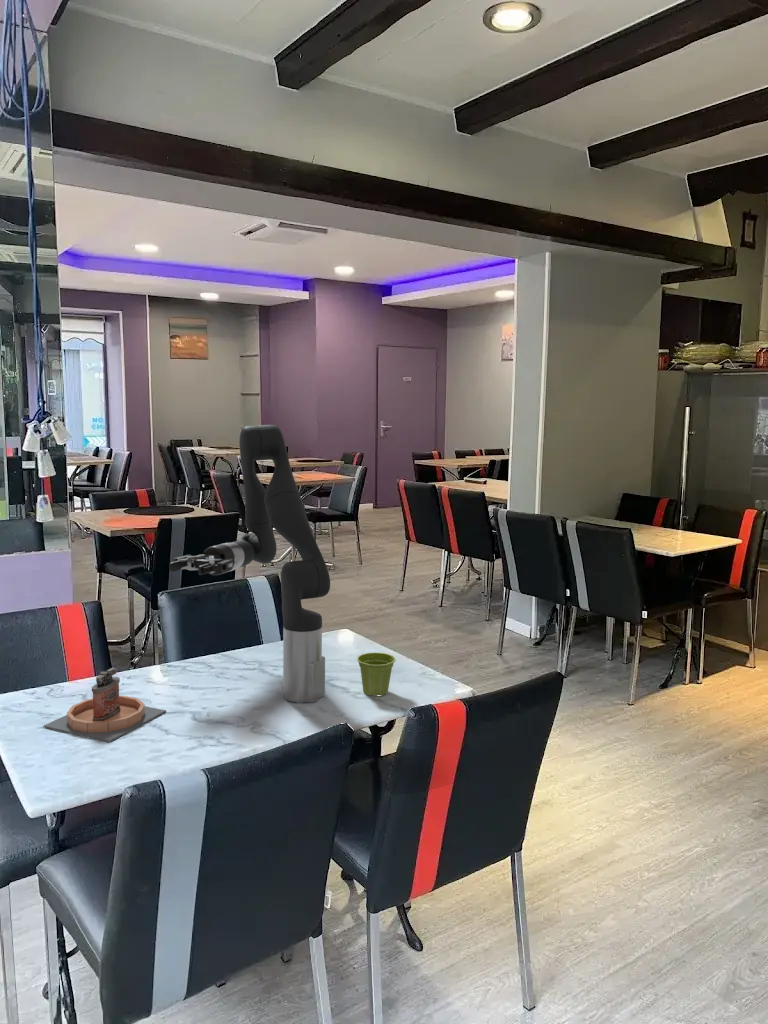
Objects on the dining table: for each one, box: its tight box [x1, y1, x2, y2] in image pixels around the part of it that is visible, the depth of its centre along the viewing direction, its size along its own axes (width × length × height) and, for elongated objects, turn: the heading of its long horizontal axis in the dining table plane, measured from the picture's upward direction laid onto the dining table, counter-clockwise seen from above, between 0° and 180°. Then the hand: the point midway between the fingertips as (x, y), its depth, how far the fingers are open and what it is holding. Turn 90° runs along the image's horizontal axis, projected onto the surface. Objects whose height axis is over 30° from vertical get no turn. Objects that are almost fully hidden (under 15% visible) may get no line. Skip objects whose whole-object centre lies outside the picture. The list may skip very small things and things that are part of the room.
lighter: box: [91, 667, 121, 721], centre depth 168 cm, size 8×3×10 cm, turn 166°
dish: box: [66, 695, 146, 733], centre depth 169 cm, size 16×16×2 cm
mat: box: [43, 705, 167, 743], centre depth 169 cm, size 18×18×1 cm
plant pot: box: [356, 652, 397, 697], centre depth 188 cm, size 9×9×9 cm
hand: (184, 569), depth 185 cm, fingers open, 8 cm apart
